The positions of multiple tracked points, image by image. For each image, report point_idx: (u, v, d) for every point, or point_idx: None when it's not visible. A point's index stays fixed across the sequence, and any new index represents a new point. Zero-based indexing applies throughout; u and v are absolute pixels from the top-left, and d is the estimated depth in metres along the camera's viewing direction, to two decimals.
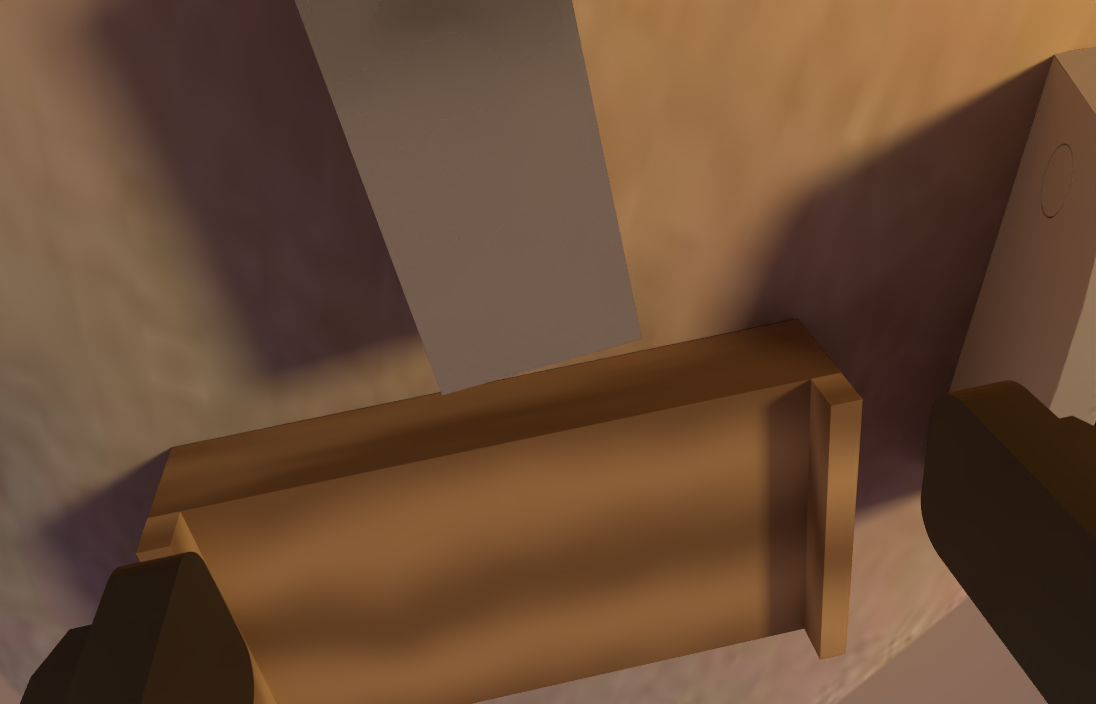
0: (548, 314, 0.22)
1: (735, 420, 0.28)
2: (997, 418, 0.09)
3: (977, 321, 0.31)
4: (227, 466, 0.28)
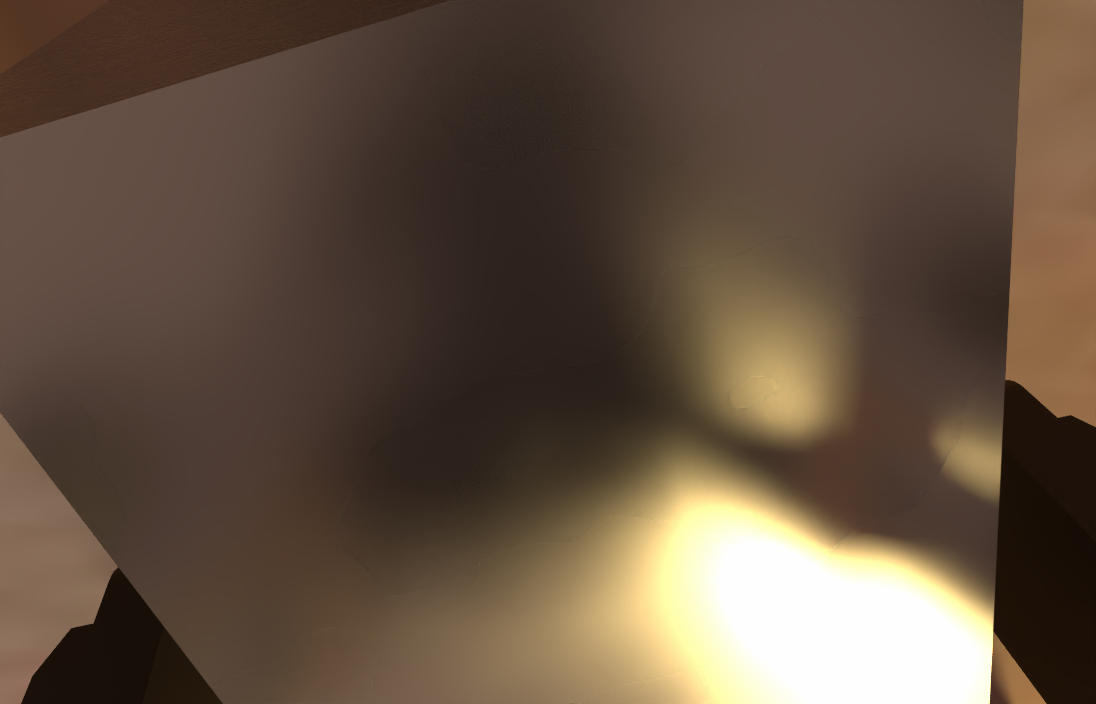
0: None
1: None
2: None
3: None
4: None
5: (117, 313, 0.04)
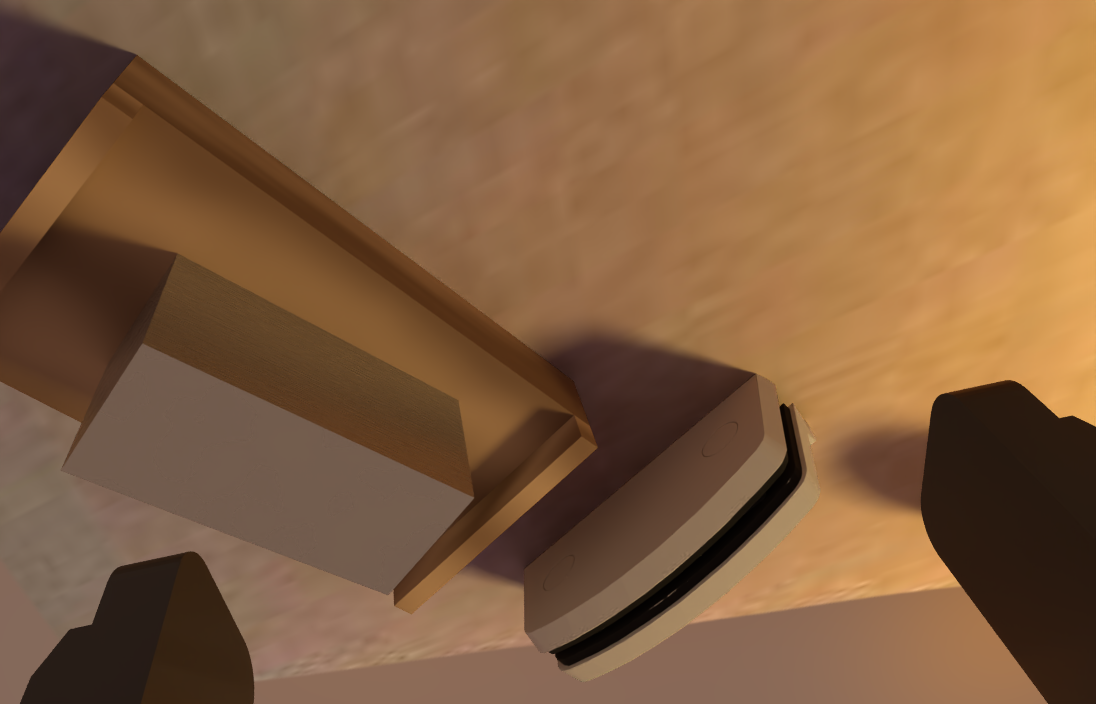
0: (403, 523, 0.31)
1: (516, 401, 0.36)
2: (997, 418, 0.09)
3: (619, 494, 0.44)
4: (185, 111, 0.30)
5: (102, 464, 0.27)
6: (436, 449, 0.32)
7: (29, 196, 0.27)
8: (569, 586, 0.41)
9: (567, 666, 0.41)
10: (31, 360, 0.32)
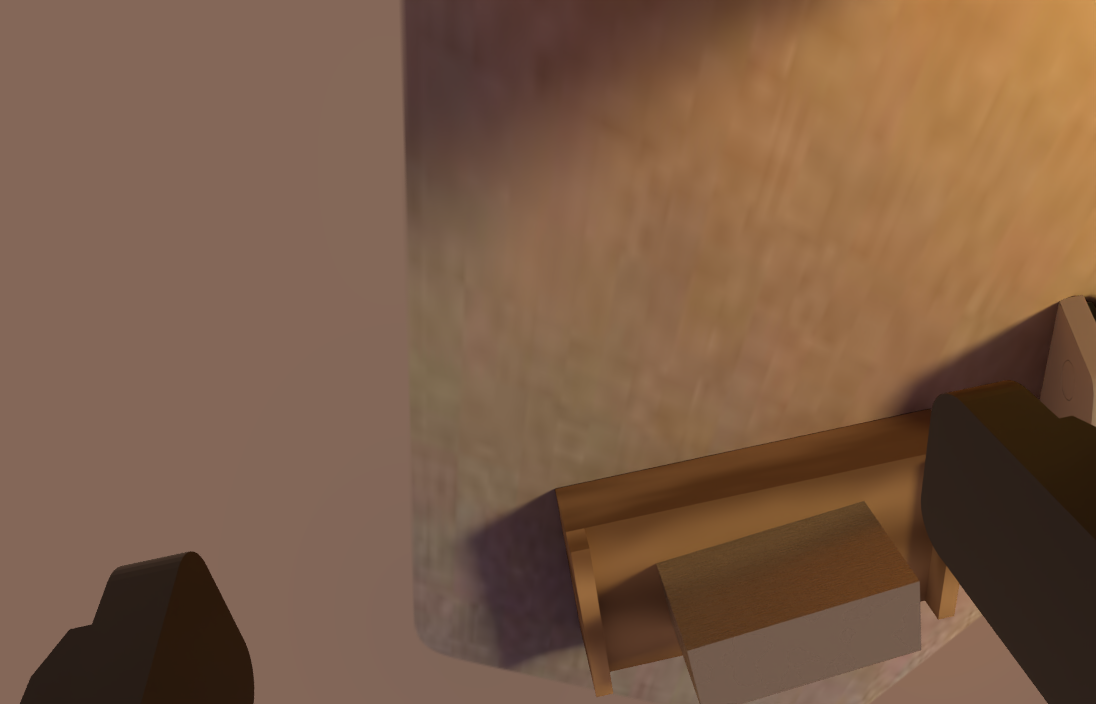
0: (891, 618, 0.44)
1: (900, 473, 0.48)
2: (997, 418, 0.09)
3: None
4: (598, 501, 0.48)
5: (718, 701, 0.46)
6: (874, 562, 0.45)
7: (581, 606, 0.47)
8: None
9: None
10: (639, 648, 0.52)
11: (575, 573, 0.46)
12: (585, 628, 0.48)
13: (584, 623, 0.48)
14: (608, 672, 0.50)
